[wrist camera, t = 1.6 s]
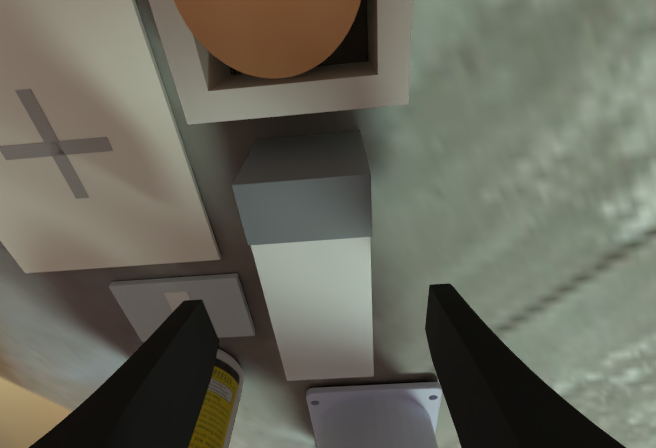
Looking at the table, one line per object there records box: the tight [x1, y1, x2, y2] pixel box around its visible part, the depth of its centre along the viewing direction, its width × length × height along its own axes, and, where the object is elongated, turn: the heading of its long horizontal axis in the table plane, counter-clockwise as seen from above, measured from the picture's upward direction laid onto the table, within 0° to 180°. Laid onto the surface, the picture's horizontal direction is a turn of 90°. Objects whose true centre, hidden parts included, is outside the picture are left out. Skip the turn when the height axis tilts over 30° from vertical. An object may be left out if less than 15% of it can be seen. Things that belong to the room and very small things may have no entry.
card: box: [108, 273, 255, 342], centre depth 17 cm, size 4×6×1 cm, turn 95°
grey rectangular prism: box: [232, 130, 374, 381], centre depth 13 cm, size 9×4×4 cm, turn 5°
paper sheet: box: [0, 0, 221, 273], centre depth 12 cm, size 11×9×1 cm
